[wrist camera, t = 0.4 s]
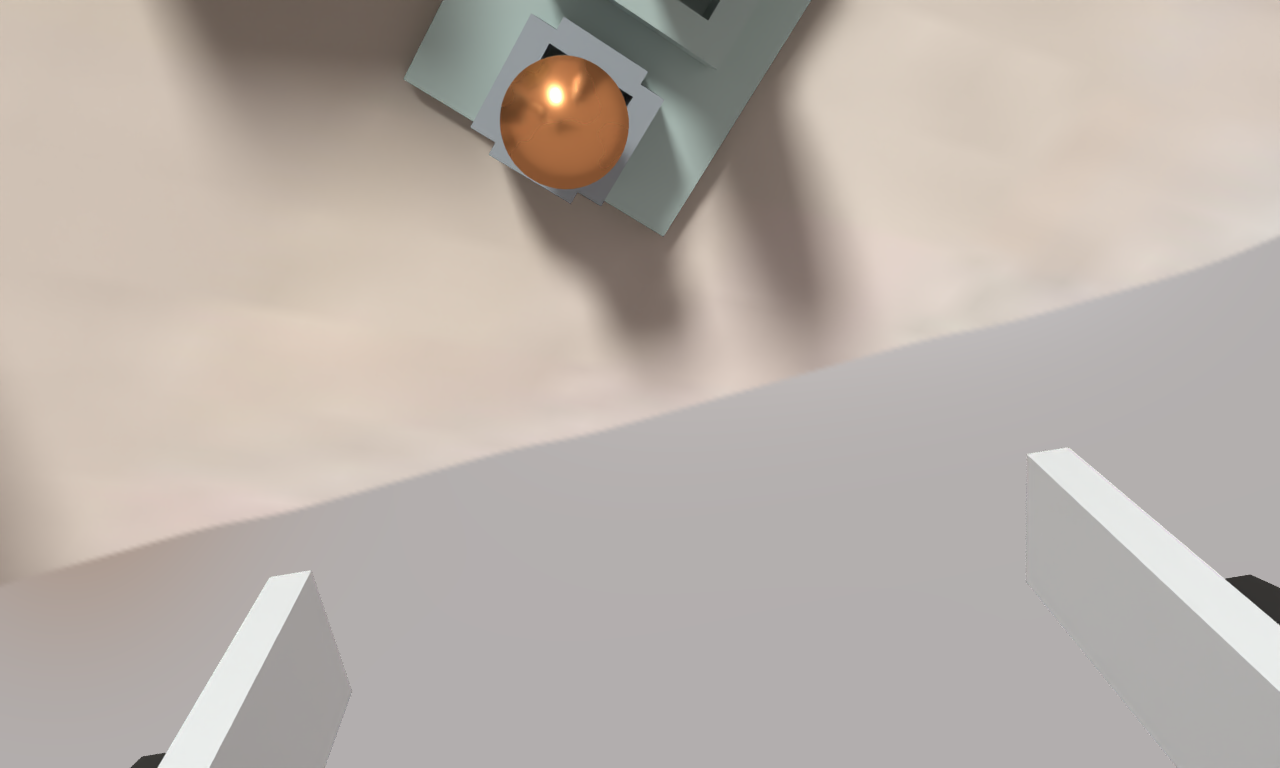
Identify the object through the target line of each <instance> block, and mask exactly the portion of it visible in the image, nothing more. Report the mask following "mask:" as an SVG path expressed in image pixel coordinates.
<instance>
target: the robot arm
mask: <svg viewBox="0 0 1280 768" xmlns="http://www.w3.org/2000/svg"><path fill="white" fill-rule="evenodd" d="M1026 485H1027V486H1026V494H1027V495H1026V497H1027V498H1026V583H1027V584H1028V585H1029V587H1030V588H1031V589H1032V590H1033V591H1034V592H1035V594H1036V595H1037V596H1038V598H1039V599H1040V600H1041V601H1042V603H1043V604H1044V605H1045V606H1046V607H1047V609H1048V610H1049V611H1050V612H1051V613H1052V615H1053V616H1054V617H1055V619H1056V620H1057V621H1058V622H1059V623H1060V625H1061V626H1062V627H1063V628H1064V629H1065V631H1066V632H1067V633H1068V634H1069V636H1070V637H1071V638H1072V639H1073V641H1074V642H1075V643H1076V644H1077V646H1078V647H1079V648H1080V649H1081V650H1082V652H1083V653H1084V654H1085V655H1086V657H1087V658H1088V659H1089V660H1090V661H1091V663H1092V664H1093V665H1094V667H1095V668H1096V669H1097V670H1098V671H1099V672H1100V674H1101V675H1102V676H1103V678H1104V679H1105V680H1106V681H1107V683H1108V684H1109V685H1110V686H1111V687H1112V689H1113V690H1114V691H1115V692H1116V694H1117V695H1118V696H1119V697H1120V699H1121V700H1122V701H1123V702H1124V703H1125V705H1126V706H1127V707H1128V708H1129V710H1130V711H1131V712H1132V713H1133V715H1134V716H1135V717H1136V718H1137V719H1138V721H1139V722H1140V723H1141V724H1142V726H1143V727H1144V728H1145V729H1146V730H1147V732H1148V733H1149V734H1150V736H1151V737H1152V738H1153V739H1154V740H1155V742H1156V743H1157V744H1158V745H1159V747H1160V748H1161V749H1162V750H1163V751H1164V753H1165V754H1166V755H1167V756H1168V757H1169V759H1170V760H1171V761H1172V763H1173V764H1174V765H1175V766H1176V768H1280V588H1279V587H1276V586H1274V585H1272V584H1270V583H1268V582H1265V581H1263V580H1261V579H1259V578H1256V577H1254V576H1252V575H1245V576H1239V577H1232V578H1226V579H1224V578H1223V577H1222V576H1220V575H1219V574H1218V573H1217V572H1216V571H1215V570H1213V569H1212V568H1211V567H1210V566H1209V565H1207V564H1206V563H1205V562H1204V561H1203V560H1202V559H1200V558H1199V557H1198V556H1197V555H1196V554H1194V553H1193V552H1192V551H1191V550H1190V549H1188V548H1187V547H1186V546H1185V545H1184V544H1183V543H1181V542H1180V541H1179V540H1178V539H1176V538H1175V537H1174V536H1173V535H1172V534H1171V533H1169V532H1168V531H1167V530H1166V529H1165V528H1164V527H1162V526H1161V525H1160V524H1159V523H1158V522H1156V521H1155V520H1154V519H1153V518H1152V517H1151V516H1149V515H1148V514H1147V513H1146V512H1145V511H1143V510H1142V509H1141V508H1140V507H1139V506H1138V505H1136V504H1135V503H1134V502H1133V501H1132V500H1130V499H1129V498H1128V497H1127V496H1126V495H1124V494H1123V493H1122V492H1121V491H1120V490H1119V489H1117V488H1116V487H1115V486H1114V485H1113V484H1111V483H1110V482H1109V481H1108V480H1107V479H1105V478H1104V477H1103V476H1102V475H1101V474H1100V473H1098V472H1097V471H1096V470H1095V469H1094V468H1092V467H1091V466H1090V465H1089V464H1087V463H1086V462H1085V461H1084V460H1083V459H1082V458H1081V457H1079V456H1078V455H1077V454H1076V453H1075V452H1073V451H1072V450H1071V449H1070V448H1069V447H1068V448H1061V449H1055V450H1049V451H1043V452H1037V453H1030V454H1027V483H1026ZM351 693H352V689H351V686H350V683H349V681H348V677H347V674H346V671H345V669H344V666H343V663H342V660H341V657H340V654H339V651H338V648H337V645H336V642H335V639H334V636H333V633H332V630H331V627H330V624H329V621H328V618H327V615H326V612H325V609H324V606H323V603H322V600H321V597H320V594H319V592H318V588H317V585H316V582H315V579H314V576H313V574H312V571H305V572H300V573H293V574H286V575H281V576H274V577H270V578H269V579H268V581H267V583H266V585H265V586H264V588H263V590H262V591H261V593H260V595H259V596H258V598H257V600H256V602H255V603H254V605H253V607H252V608H251V610H250V612H249V614H248V615H247V617H246V619H245V620H244V622H243V624H242V625H241V627H240V629H239V631H238V632H237V634H236V635H235V637H234V639H233V641H232V642H231V644H230V646H229V647H228V649H227V651H226V653H225V654H224V656H223V658H222V659H221V661H220V663H219V664H218V666H217V668H216V670H215V671H214V673H213V675H212V676H211V678H210V680H209V681H208V683H207V685H206V687H205V688H204V690H203V692H202V693H201V695H200V697H199V698H198V700H197V702H196V703H195V705H194V707H193V709H192V710H191V712H190V714H189V715H188V717H187V719H186V720H185V722H184V724H183V725H182V727H181V729H180V731H179V732H178V734H177V736H176V738H175V739H174V741H173V743H172V744H171V746H170V748H169V749H168V751H167V753H162V754H155V755H150V756H143V757H141V758H140V759H139V760H138V761H137V762H136V763H135V764H134V765H133V766H132V767H131V768H325V765H326V763H327V760H328V757H329V754H330V752H331V749H332V746H333V743H334V740H335V738H336V735H337V732H338V729H339V727H340V723H341V721H342V718H343V715H344V713H345V710H346V707H347V704H348V701H349V699H350V696H351Z"/></svg>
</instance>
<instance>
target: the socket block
mask: <svg viewBox="0 0 1280 768" xmlns="http://www.w3.org/2000/svg"><path fill="white" fill-rule="evenodd" d="M810 1H811V0H443V1H442V3H441V5H440V7H439V9H438V11H437V13H436V15H435V17H434V19H433V21H432V23H431V25H430V27H429V29H428V31H427V33H426V35H425V37H424V39H423V41H422V43H421V45H420V47H419V49H418V51H417V53H416V55H415V57H414V59H413V61H412V63H411V65H410V67H409V69H408V71H407V73H406V75H405V77H404V80H406V81H407V82H409V83H410V84H412V85H414V86H415V87H417V88H419V89H420V90H422V91H424V92H425V93H427V94H429V95H430V96H432V97H434V98H435V99H437V100H439V101H440V102H442V103H443V104H445V105H447V106H448V107H450V108H452V109H453V110H455V111H457V112H458V113H460V114H462V115H463V116H465V117H467V118H468V119H470V120H472V121H473V123H472V125H471V127H470V128H472V129H474V130H475V131H477V132H479V133H480V134H482V135H484V136H485V137H487V138H489V139H490V140H492V141H494V142H495V144H494V146H493V148H492V149H491V151H490V153H489V155H490V156H492V157H493V158H495V159H497V160H498V161H500V162H502V163H503V164H505V165H507V166H508V167H510V168H512V169H513V170H515V171H517V172H518V173H520V174H522V175H523V176H525V177H527V178H528V179H530V180H532V179H531V178H529V177H528V176H526V175H525V174H524V173H523V172H522V171H521V170H520V169H519V168H518V167H517V166H516V165H515V164H514V162H513V161H512V159H511V158H510V156H509V155H508V153H507V151H506V149H505V146H504V143H503V140H502V136H501V131H500V111H501V105H502V102H503V99H504V96H505V94H506V91H507V89H508V87H509V86H510V84H511V83H512V81H513V80H514V79H515V78H516V76H517V75H518V74H519V73H520V72H521V71H523V70H524V69H525V68H526V67H528V66H529V65H531V64H533V63H535V62H537V61H539V60H541V59H544V58H547V57H551V56H557V55H569V56H576V57H580V58H583V59H586V60H588V61H591V62H592V63H594V64H596V65H598V66H599V67H600V68H602V69H603V70H604V71H605V72H606V73H607V74H608V75H609V76H610V77H611V78H612V79H613V80H614V82H615V83H616V84H617V86H618V88H619V89H620V91H621V93H622V95H623V98H624V100H625V103H626V106H627V111H628V117H629V131H628V138H627V142H626V145H625V148H624V151H623V153H622V155H621V157H620V159H619V160H618V162H617V163H616V165H615V166H614V167H613V168H612V169H611V170H610V171H609V172H608V173H607V174H606V175H605V176H604V177H602V178H601V179H599V180H598V181H596V182H594V183H592V184H590V185H587V186H584V187H581V188H575V189H556V188H551V187H547V186H545V185H542V184H540V183H538V182H536V181H534V180H532V181H533V182H535V183H537V184H538V185H540V186H542V187H543V188H545V189H547V190H548V191H550V192H552V193H553V194H555V195H557V196H558V197H560V198H562V199H563V200H565V201H567V202H568V203H570V204H571V203H572V201H573V199H574V197H575V196H576V194H577V192H578V193H580V194H581V195H583V196H585V197H586V198H588V199H590V200H591V201H593V202H595V203H596V204H598V205H600V206H602V204H603V202H604V201H605V202H607V203H608V204H610V205H612V206H613V207H615V208H617V209H618V210H620V211H622V212H623V213H625V214H627V215H628V216H630V217H632V218H633V219H635V220H636V221H638V222H640V223H641V224H643V225H645V226H646V227H648V228H650V229H651V230H653V231H655V232H656V233H658V234H660V235H661V236H663V237H664V235H665V233H666V232H667V230H668V229H669V227H670V225H671V224H672V222H673V221H674V219H675V217H676V216H677V214H678V213H679V211H680V209H681V208H682V206H683V205H684V203H685V201H686V200H687V198H688V197H689V195H690V193H691V192H692V190H693V189H694V187H695V185H696V184H697V182H698V181H699V179H700V177H701V176H702V174H703V173H704V171H705V169H706V168H707V166H708V165H709V163H710V161H711V160H712V158H713V157H714V155H715V153H716V152H717V150H718V149H719V147H720V145H721V144H722V142H723V141H724V139H725V137H726V136H727V134H728V133H729V131H730V129H731V128H732V126H733V125H734V123H735V121H736V120H737V118H738V117H739V115H740V113H741V112H742V110H743V109H744V107H745V105H746V104H747V102H748V101H749V99H750V97H751V96H752V94H753V93H754V91H755V89H756V88H757V86H758V85H759V83H760V81H761V80H762V78H763V77H764V75H765V73H766V72H767V70H768V69H769V67H770V65H771V64H772V62H773V61H774V59H775V57H776V56H777V54H778V53H779V51H780V49H781V48H782V46H783V45H784V43H785V41H786V40H787V38H788V37H789V35H790V33H791V32H792V30H793V29H794V27H795V25H796V24H797V22H798V21H799V19H800V17H801V16H802V14H803V13H804V11H805V9H806V8H807V6H808V5H809V3H810Z"/></svg>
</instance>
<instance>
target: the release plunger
mask: <svg viewBox="0 0 1280 768" xmlns="http://www.w3.org/2000/svg"><path fill="white" fill-rule="evenodd" d="M500 131H501V136H502V140H503V143H504V146H505V149H506V151H507V153H508V155H509V156H510V158H511V159H512V161H513V162H514V164H515V165H516V166H517V167H518V168H519V169H520V170H521V171H522V172H523V173H524V174H525V175H526V176H528V177H529V178H531V179H532V180H534V181H536V182H538V183H540V184H542V185H545V186H547V187H551V188H556V189H575V188H581V187H584V186H587V185H590V184H592V183H594V182H596V181H598V180H599V179H601V178H602V177H604V176H605V175H606V174H607V173H608V172H609V171H610V170H611V169H612V168H613V167H614V166H615V165H616V163H617V162H618V160H619V159H620V157H621V155H622V153H623V151H624V148H625V145H626V142H627V138H628V131H629V117H628V111H627V106H626V103H625V100H624V98H623V95H622V93H621V91H620V89H619V88H618V86H617V84H616V83H615V82H614V80H613V79H612V78H611V77H610V76H609V75H608V74H607V73H606V72H605V71H604V70H603V69H602V68H600V67H599V66H598V65H596V64H594V63H592V62H591V61H588V60H586V59H583V58H580V57H576V56H569V55H557V56H551V57H547V58H544V59H541V60H539V61H537V62H535V63H533V64H531V65H529V66H528V67H526V68H525V69H524V70H523V71H521V72H520V73H519V74H518V75H517V76H516V78H515V79H514V80H513V81H512V83H511V84H510V86H509V87H508V89H507V91H506V94H505V96H504V99H503V102H502V105H501V111H500Z"/></svg>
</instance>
